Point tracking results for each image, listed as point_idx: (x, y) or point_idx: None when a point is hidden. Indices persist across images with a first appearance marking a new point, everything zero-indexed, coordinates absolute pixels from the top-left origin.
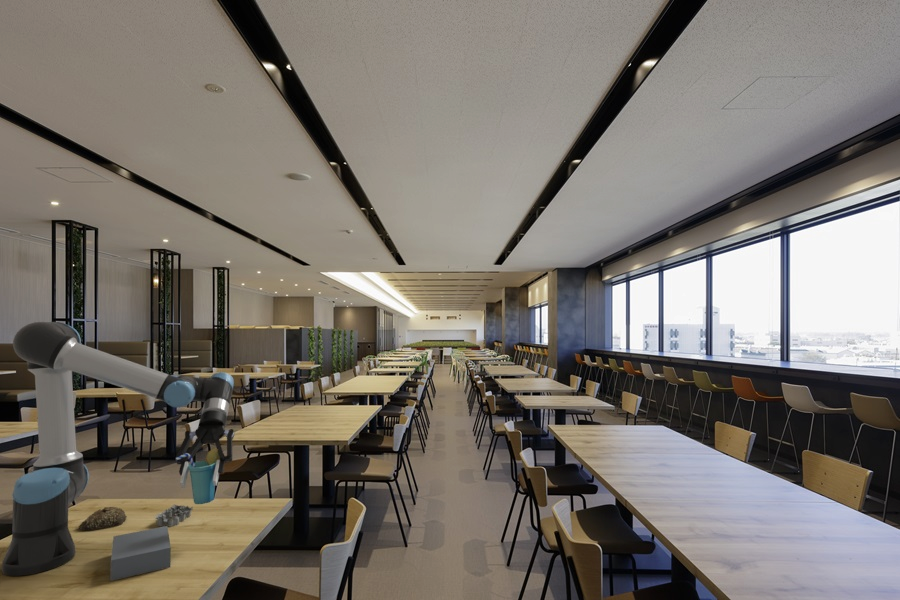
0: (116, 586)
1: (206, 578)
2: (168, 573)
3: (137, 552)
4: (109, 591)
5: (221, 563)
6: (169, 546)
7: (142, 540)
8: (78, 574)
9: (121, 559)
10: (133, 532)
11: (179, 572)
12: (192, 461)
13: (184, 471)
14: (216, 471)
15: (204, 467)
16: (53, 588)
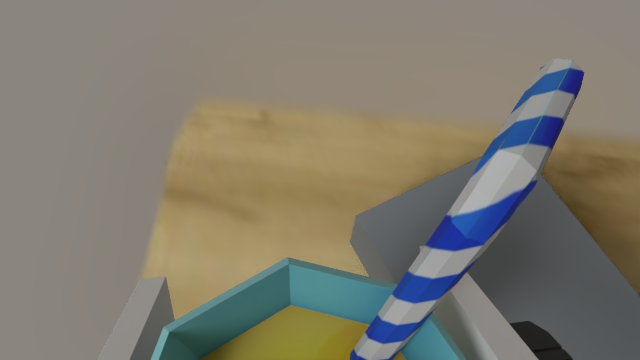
0: (448, 144)
1: (203, 157)
2: (335, 200)
3: (461, 188)
4: (449, 122)
5: (179, 249)
6: (366, 225)
7: (520, 299)
8: (629, 227)
9: None
10: None
11: (302, 202)
12: (407, 278)
13: (473, 306)
14: (117, 337)
15: (238, 289)
16: (624, 153)
